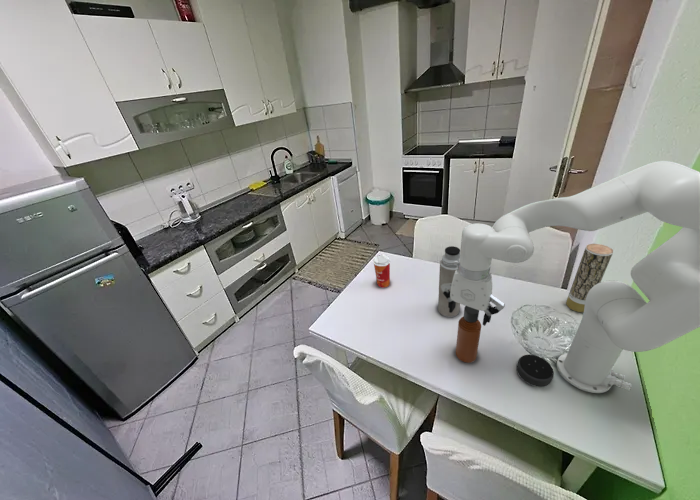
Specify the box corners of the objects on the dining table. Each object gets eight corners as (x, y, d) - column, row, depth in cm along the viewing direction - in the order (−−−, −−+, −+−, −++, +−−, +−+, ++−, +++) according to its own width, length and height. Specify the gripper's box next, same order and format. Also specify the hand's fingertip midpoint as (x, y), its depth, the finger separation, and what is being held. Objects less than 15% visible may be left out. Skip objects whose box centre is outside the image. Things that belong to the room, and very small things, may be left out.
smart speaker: (548, 366, 84) (551, 357, 82) (553, 392, 77) (557, 384, 75) (515, 358, 87) (517, 350, 85) (517, 383, 80) (519, 374, 78)
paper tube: (570, 312, 100) (591, 254, 87) (562, 299, 105) (582, 243, 92) (592, 313, 98) (618, 254, 85) (583, 300, 103) (606, 243, 91)
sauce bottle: (479, 351, 91) (486, 308, 81) (472, 366, 87) (479, 321, 77) (459, 343, 95) (464, 300, 85) (452, 356, 91) (456, 313, 81)
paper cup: (372, 281, 130) (370, 256, 123) (387, 277, 132) (385, 252, 124) (379, 291, 123) (376, 265, 116) (394, 286, 125) (393, 260, 118)
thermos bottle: (458, 303, 111) (463, 243, 97) (460, 317, 104) (467, 255, 90) (437, 302, 113) (439, 243, 98) (438, 316, 106) (441, 255, 92)
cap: (461, 319, 82) (461, 310, 81) (466, 311, 85) (467, 302, 83) (475, 324, 80) (476, 316, 78) (479, 316, 82) (481, 307, 80)
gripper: (436, 267, 76) (435, 312, 85) (506, 287, 66) (495, 336, 74) (447, 254, 81) (445, 298, 89) (514, 271, 70) (503, 319, 79)
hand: (468, 315), depth 82 cm, fingers open, 9 cm apart
